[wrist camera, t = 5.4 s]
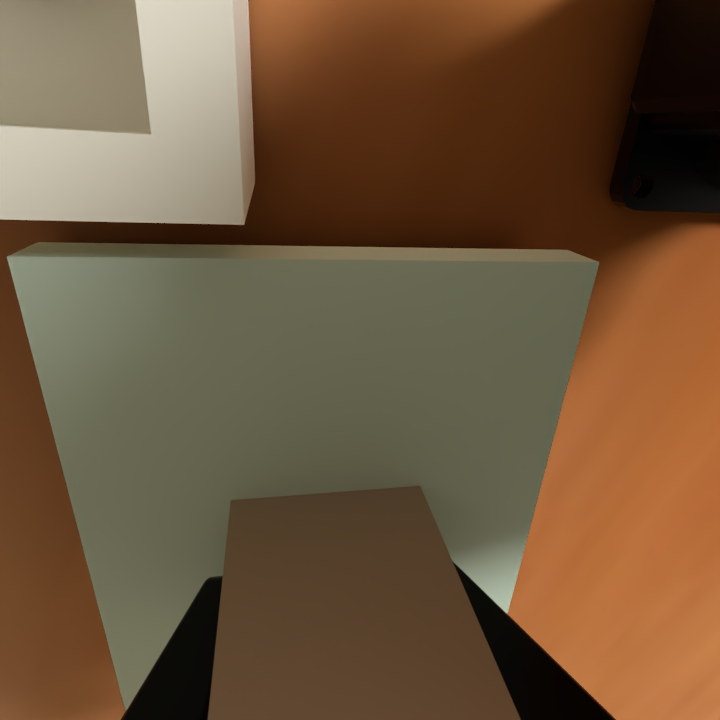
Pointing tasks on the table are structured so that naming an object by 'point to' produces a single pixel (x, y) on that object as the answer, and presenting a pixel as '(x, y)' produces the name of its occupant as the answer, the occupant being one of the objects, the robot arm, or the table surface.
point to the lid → (306, 456)
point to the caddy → (126, 111)
